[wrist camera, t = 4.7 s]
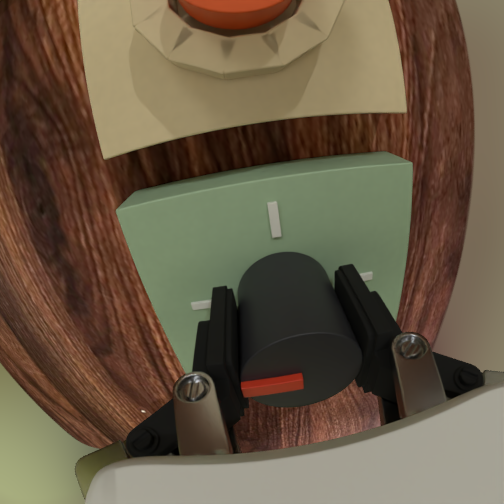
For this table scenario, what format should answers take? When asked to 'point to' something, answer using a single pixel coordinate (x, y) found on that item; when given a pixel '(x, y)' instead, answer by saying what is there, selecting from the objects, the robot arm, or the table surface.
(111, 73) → the button base
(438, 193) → the table surface
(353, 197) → the dial base
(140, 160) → the table surface
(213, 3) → the stop button
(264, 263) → the dial
